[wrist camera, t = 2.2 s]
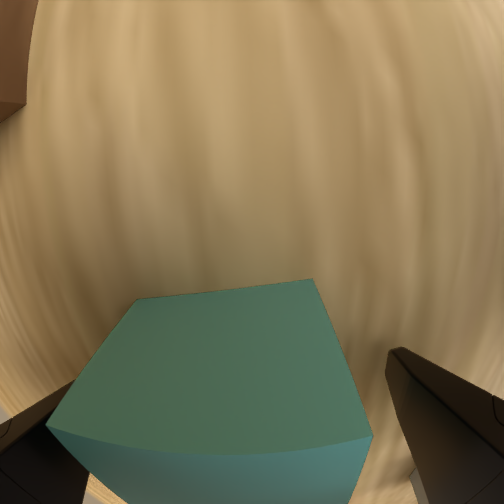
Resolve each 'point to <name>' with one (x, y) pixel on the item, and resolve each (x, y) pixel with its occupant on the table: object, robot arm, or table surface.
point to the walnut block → (14, 53)
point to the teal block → (220, 402)
